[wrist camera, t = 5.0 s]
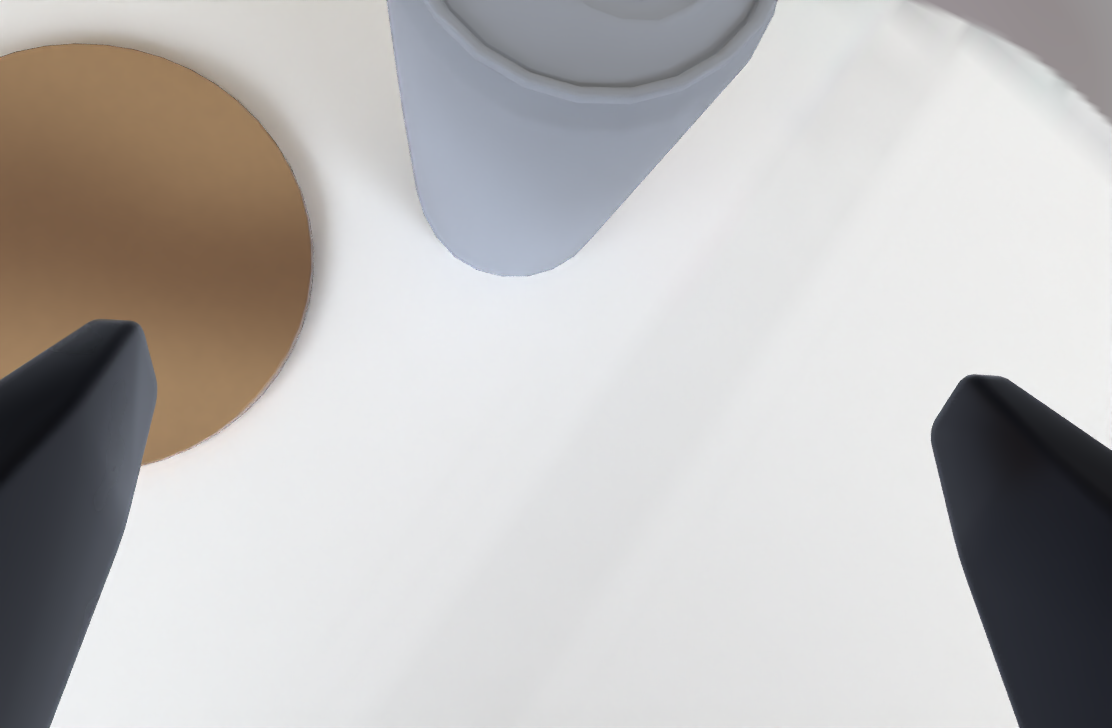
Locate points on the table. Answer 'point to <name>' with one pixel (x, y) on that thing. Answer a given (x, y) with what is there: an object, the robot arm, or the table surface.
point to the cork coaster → (149, 228)
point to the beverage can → (553, 111)
